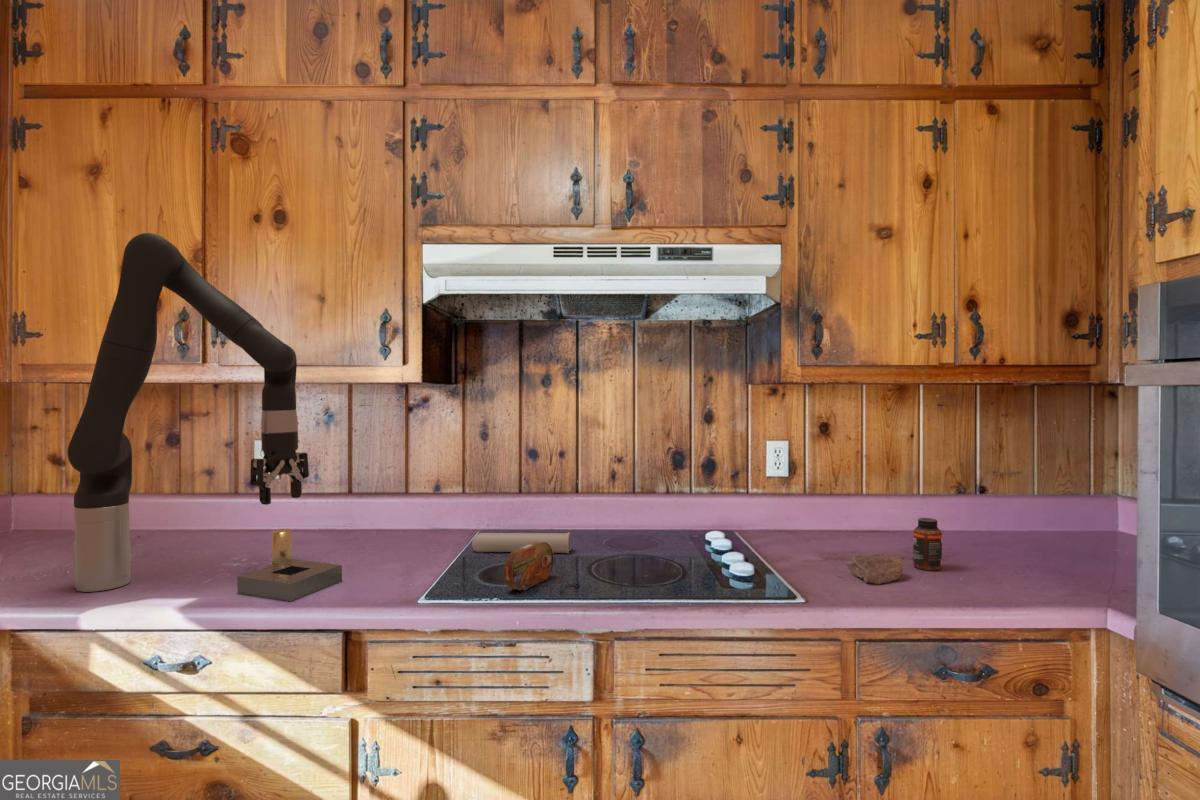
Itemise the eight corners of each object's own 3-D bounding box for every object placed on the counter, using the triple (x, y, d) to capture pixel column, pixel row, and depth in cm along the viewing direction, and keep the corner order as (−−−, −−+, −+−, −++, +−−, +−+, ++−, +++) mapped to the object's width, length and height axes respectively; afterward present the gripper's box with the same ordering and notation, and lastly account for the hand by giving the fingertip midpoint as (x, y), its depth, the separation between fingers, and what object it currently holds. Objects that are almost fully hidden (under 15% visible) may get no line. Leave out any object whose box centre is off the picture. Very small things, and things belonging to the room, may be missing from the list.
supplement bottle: (947, 569, 149) (948, 520, 149) (932, 573, 146) (932, 523, 146) (922, 563, 155) (923, 515, 154) (907, 566, 152) (908, 518, 151)
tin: (513, 596, 131) (513, 554, 131) (501, 593, 133) (501, 552, 132) (554, 576, 144) (554, 538, 144) (543, 574, 146) (542, 537, 145)
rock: (868, 586, 137) (868, 564, 137) (838, 573, 147) (839, 552, 147) (914, 582, 140) (914, 560, 140) (882, 569, 150) (882, 548, 150)
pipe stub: (268, 571, 148) (267, 532, 148) (282, 566, 152) (281, 528, 151) (281, 573, 146) (281, 533, 146) (295, 568, 150) (295, 529, 150)
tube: (468, 539, 162) (568, 540, 161) (473, 528, 167) (570, 528, 166) (470, 557, 164) (569, 558, 163) (475, 546, 169) (571, 546, 168)
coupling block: (237, 593, 132) (237, 576, 132) (291, 574, 145) (291, 558, 145) (290, 601, 127) (290, 583, 127) (341, 581, 141) (341, 565, 140)
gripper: (291, 427, 156) (293, 494, 157) (240, 432, 143) (242, 505, 143) (316, 428, 154) (317, 496, 154) (266, 432, 140) (268, 507, 141)
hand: (281, 500), depth 149 cm, fingers open, 8 cm apart
